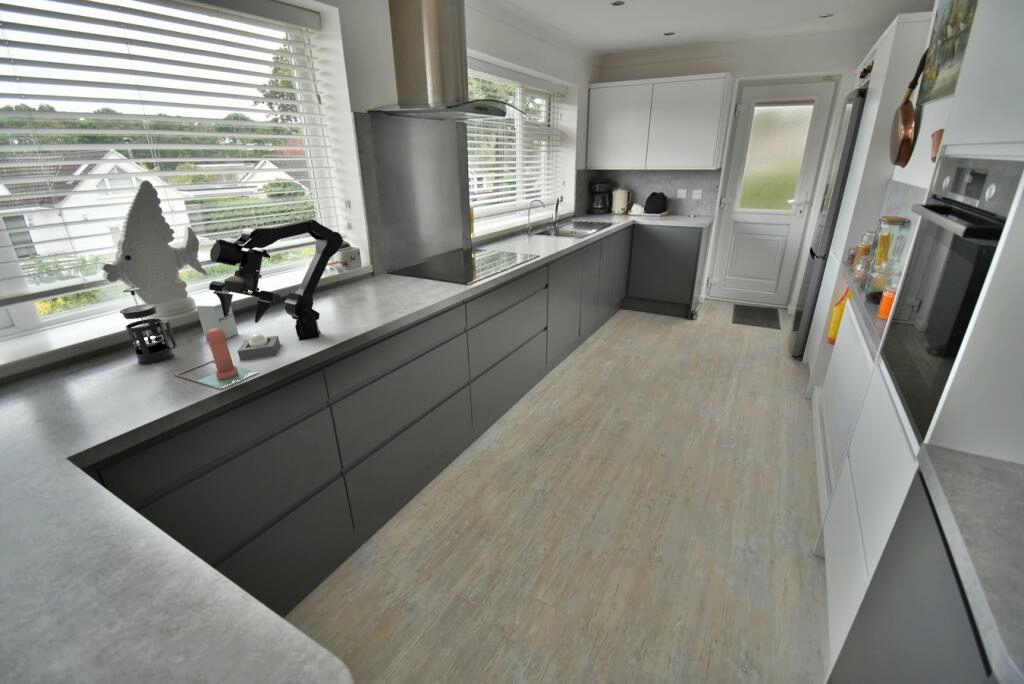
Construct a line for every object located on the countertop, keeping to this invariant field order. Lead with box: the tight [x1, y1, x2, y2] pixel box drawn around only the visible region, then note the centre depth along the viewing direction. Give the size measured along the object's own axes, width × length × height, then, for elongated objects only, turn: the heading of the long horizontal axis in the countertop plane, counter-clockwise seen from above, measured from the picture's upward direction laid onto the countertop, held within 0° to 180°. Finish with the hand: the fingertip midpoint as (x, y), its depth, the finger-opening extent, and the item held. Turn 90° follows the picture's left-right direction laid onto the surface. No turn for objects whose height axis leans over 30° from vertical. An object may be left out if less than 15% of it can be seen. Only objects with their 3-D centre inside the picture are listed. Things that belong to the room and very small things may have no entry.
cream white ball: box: [249, 333, 268, 347], centre depth 146 cm, size 5×5×5 cm
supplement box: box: [195, 299, 239, 341], centre depth 160 cm, size 7×7×13 cm
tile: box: [196, 365, 256, 388], centre depth 130 cm, size 11×11×1 cm
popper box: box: [237, 335, 281, 360], centre depth 147 cm, size 10×10×3 cm
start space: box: [174, 359, 215, 383], centre depth 135 cm, size 11×11×1 cm
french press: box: [119, 287, 178, 365], centre depth 141 cm, size 12×9×23 cm
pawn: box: [205, 329, 238, 380], centre depth 127 cm, size 5×5×14 cm
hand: (240, 319), depth 140 cm, fingers open, 9 cm apart
